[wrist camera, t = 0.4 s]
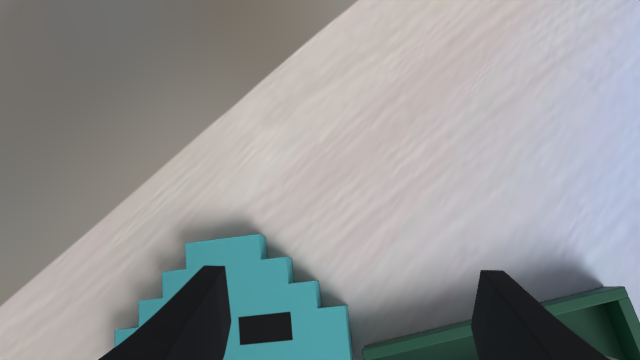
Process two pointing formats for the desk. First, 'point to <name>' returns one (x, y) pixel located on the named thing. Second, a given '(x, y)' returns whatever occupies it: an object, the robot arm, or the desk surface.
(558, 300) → the green tray
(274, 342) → the alien figure
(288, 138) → the desk surface
